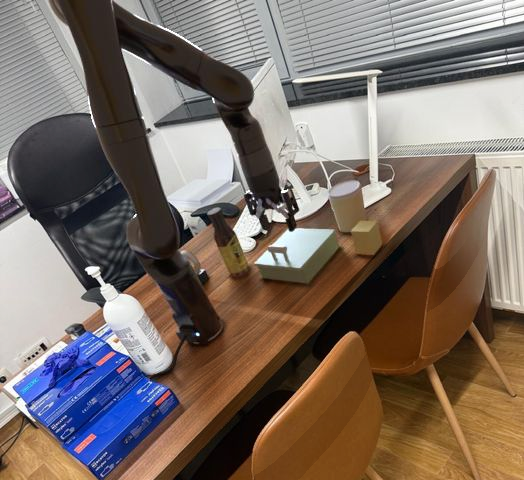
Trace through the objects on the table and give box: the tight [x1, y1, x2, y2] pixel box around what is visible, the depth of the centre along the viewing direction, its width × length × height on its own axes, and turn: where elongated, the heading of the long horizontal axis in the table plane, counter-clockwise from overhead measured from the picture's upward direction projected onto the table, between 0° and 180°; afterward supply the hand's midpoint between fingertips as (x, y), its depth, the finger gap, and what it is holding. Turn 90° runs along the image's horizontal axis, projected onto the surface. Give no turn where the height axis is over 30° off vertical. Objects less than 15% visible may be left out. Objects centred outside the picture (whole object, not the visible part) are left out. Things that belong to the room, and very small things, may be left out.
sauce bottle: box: [206, 207, 250, 278], centre depth 127 cm, size 7×6×20 cm
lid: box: [253, 227, 337, 271], centre depth 120 cm, size 17×16×5 cm
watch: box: [179, 249, 210, 286], centre depth 134 cm, size 6×8×11 cm
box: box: [257, 231, 340, 284], centre depth 123 cm, size 17×16×5 cm
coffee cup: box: [327, 179, 367, 233], centre depth 126 cm, size 9×9×12 cm
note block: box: [350, 220, 383, 256], centre depth 116 cm, size 5×5×8 cm
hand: (280, 229), depth 115 cm, fingers open, 8 cm apart
